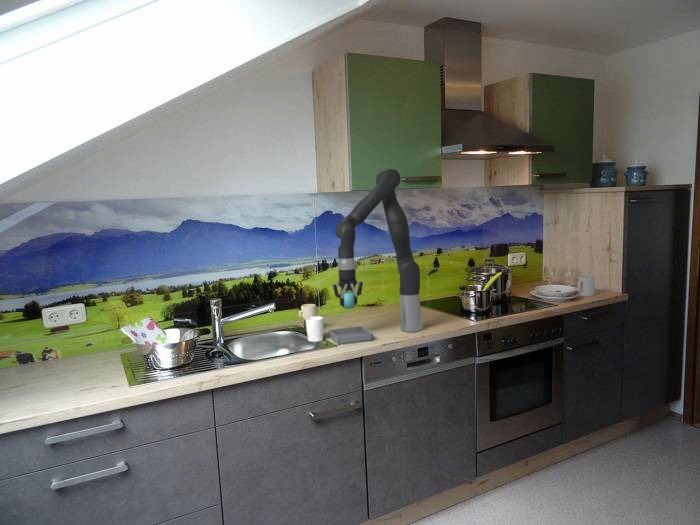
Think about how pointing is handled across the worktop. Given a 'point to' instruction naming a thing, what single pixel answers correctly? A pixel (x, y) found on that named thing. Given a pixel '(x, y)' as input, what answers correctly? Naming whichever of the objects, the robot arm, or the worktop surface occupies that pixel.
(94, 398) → the worktop surface
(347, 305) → the teal capsule
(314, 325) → the white cup
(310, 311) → the character mug
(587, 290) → the mug
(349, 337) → the tray
